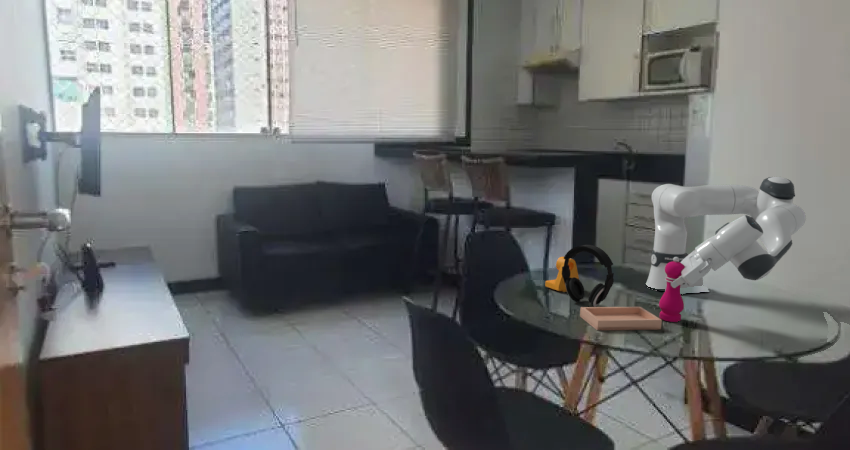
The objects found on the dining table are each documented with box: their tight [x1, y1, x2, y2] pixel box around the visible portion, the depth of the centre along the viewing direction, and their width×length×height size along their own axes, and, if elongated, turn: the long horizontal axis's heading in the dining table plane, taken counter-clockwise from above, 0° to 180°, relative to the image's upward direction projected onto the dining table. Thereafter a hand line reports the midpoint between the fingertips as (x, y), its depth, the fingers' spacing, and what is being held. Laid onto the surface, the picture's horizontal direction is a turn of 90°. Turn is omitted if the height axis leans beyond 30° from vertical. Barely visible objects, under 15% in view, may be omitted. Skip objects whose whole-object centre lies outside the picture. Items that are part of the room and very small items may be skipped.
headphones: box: [562, 244, 615, 307], centre depth 199 cm, size 18×8×20 cm, turn 45°
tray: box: [579, 306, 663, 331], centre depth 182 cm, size 20×13×3 cm, turn 98°
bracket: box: [544, 256, 580, 293], centre depth 218 cm, size 11×7×12 cm, turn 123°
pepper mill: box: [658, 257, 685, 323], centre depth 185 cm, size 7×7×20 cm
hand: (671, 283), depth 185 cm, fingers closed on pepper mill, 5 cm apart
